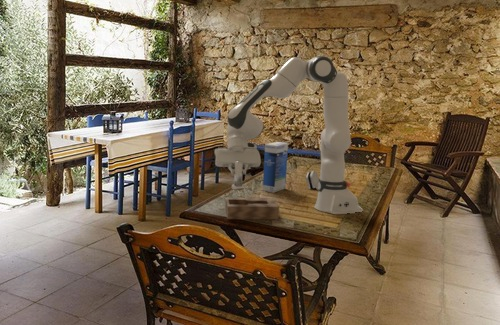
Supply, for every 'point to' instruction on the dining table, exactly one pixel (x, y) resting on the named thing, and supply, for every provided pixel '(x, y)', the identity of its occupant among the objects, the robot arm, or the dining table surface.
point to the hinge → (312, 179)
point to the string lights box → (275, 166)
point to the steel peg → (238, 176)
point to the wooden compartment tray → (251, 208)
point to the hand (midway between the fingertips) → (238, 173)
